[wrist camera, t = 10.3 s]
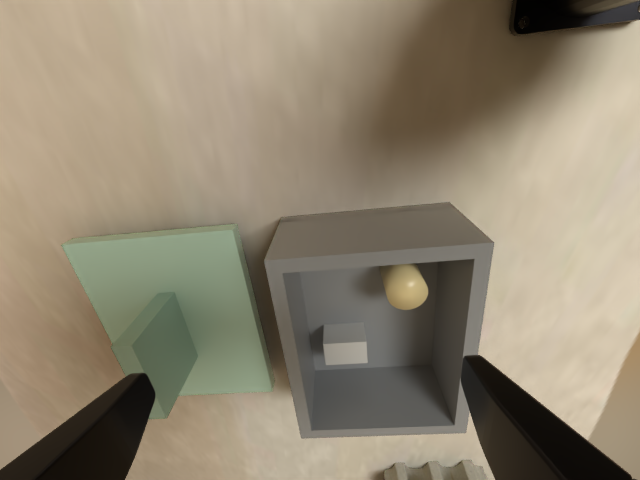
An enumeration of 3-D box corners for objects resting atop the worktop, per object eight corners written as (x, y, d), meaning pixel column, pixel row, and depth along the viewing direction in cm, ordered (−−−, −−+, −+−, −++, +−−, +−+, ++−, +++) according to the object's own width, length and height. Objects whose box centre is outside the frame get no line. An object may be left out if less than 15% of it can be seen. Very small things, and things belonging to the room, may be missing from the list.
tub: (449, 202, 20) (494, 242, 14) (437, 361, 26) (466, 433, 20) (281, 217, 21) (263, 260, 15) (307, 368, 26) (301, 438, 21)
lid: (241, 218, 21) (201, 271, 14) (276, 371, 27) (259, 456, 20) (83, 232, 22) (-19, 288, 15) (152, 377, 28) (99, 461, 21)
